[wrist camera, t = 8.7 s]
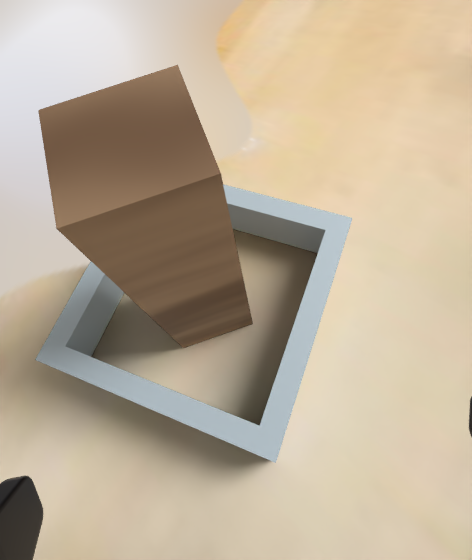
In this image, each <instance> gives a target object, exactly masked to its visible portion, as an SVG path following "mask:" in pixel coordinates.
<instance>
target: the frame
mask: <svg viewBox="0 0 472 560" xmlns="http://www.w3.org/2000/svg"><path fill="white" fill-rule="evenodd" d="M223 187H224V191H225V196H226V201H227V205H228V210H229V215H230V219H231V224H232V229H235V230H239V231H242V232H246V233H249V234H253V235H256V236H260V237H263V238H267V239H270V240H273V241H277V242H280V243H284V244H287V245H291V246H294V247H298V248H301V249H305V250H308V251H312V252H315V253H318V254H317V257H316V260H315V263H314V266H313V269H312V272H311V275H310V278H309V281H308V284H307V287H306V290H305V293H304V296H303V299H302V302H301V304H300V307H299V310H298V313H297V316H296V319H295V322H294V325H293V328H292V331H291V334H290V337H289V340H288V343H287V346H286V349H285V352H284V355H283V358H282V361H281V364H280V367H279V370H278V373H277V375H276V378H275V381H274V384H273V387H272V390H271V393H270V396H269V399H268V402H267V405H266V408H265V411H264V414H263V417H262V420H261V423H260V426H259V425H256V424H254V423H251V422H249V421H247V420H244V419H242V418H239V417H237V416H234V415H232V414H229V413H227V412H225V411H222V410H220V409H217V408H215V407H212V406H210V405H207V404H205V403H203V402H200V401H198V400H195V399H193V398H190V397H188V396H185V395H183V394H181V393H178V392H176V391H173V390H171V389H168V388H166V387H163V386H161V385H159V384H156V383H154V382H151V381H149V380H146V379H144V378H141V377H139V376H137V375H134V374H132V373H129V372H127V371H124V370H122V369H119V368H117V367H115V366H112V365H110V364H107V363H105V362H102V361H100V360H97V359H95V358H93V357H91V356H92V354H93V352H94V350H95V348H96V347H97V345H98V343H99V341H100V339H101V337H102V335H103V333H104V331H105V329H106V327H107V325H108V323H109V321H110V319H111V317H112V316H113V314H114V312H115V310H116V308H117V306H118V304H119V302H120V300H121V298H122V296H123V294H124V292H123V291H122V290H121V289H120V288H119V287H118V286H117V285H116V284H115V283H114V282H113V281H112V280H111V279H110V278H108V277H107V276H106V275H105V274H104V273H103V272H102V271H101V270H100V269H99V268H98V267H97V266H96V265H95V264H94V263H93V262H92V261H91V262H90V264H89V265H88V267H87V269H86V271H85V273H84V274H83V276H82V278H81V280H80V281H79V283H78V285H77V287H76V288H75V290H74V292H73V294H72V296H71V297H70V299H69V301H68V303H67V304H66V306H65V308H64V310H63V311H62V313H61V315H60V317H59V318H58V320H57V322H56V324H55V326H54V327H53V329H52V331H51V333H50V334H49V336H48V338H47V340H46V341H45V343H44V345H43V347H42V348H41V350H40V352H39V354H38V356H37V357H36V359H35V360H37V361H39V362H41V363H44V364H46V365H48V366H51V367H53V368H55V369H58V370H60V371H62V372H65V373H67V374H69V375H72V376H74V377H76V378H79V379H81V380H83V381H86V382H88V383H90V384H93V385H95V386H97V387H100V388H102V389H104V390H107V391H109V392H111V393H114V394H116V395H118V396H121V397H123V398H125V399H128V400H130V401H132V402H135V403H137V404H139V405H142V406H144V407H146V408H149V409H151V410H153V411H156V412H158V413H160V414H163V415H165V416H167V417H170V418H172V419H174V420H177V421H179V422H181V423H184V424H186V425H188V426H191V427H193V428H195V429H198V430H200V431H202V432H205V433H207V434H209V435H212V436H214V437H216V438H219V439H221V440H223V441H226V442H228V443H230V444H233V445H235V446H237V447H240V448H242V449H244V450H247V451H249V452H251V453H254V454H256V455H258V456H261V457H263V458H265V459H268V460H270V461H272V462H275V463H276V460H277V457H278V454H279V450H280V447H281V444H282V441H283V438H284V435H285V431H286V428H287V425H288V422H289V419H290V415H291V412H292V409H293V406H294V403H295V400H296V396H297V393H298V390H299V387H300V384H301V380H302V377H303V374H304V371H305V368H306V364H307V361H308V358H309V355H310V352H311V349H312V345H313V342H314V339H315V336H316V333H317V329H318V326H319V323H320V320H321V317H322V313H323V310H324V307H325V304H326V301H327V298H328V294H329V291H330V288H331V285H332V282H333V278H334V275H335V272H336V269H337V266H338V262H339V259H340V256H341V253H342V250H343V247H344V243H345V240H346V237H347V234H348V231H349V227H350V224H351V221H352V218H350V217H347V216H343V215H339V214H335V213H331V212H327V211H323V210H320V209H316V208H312V207H308V206H304V205H300V204H296V203H293V202H289V201H285V200H281V199H277V198H273V197H270V196H266V195H262V194H258V193H254V192H250V191H246V190H243V189H239V188H235V187H231V186H227V185H223Z"/></svg>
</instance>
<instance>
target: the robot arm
mask: <svg viewBox="0 0 472 560" xmlns="http://www.w3.org/2000/svg"><path fill="white" fill-rule="evenodd" d="M469 431H470V434H471V436H472V397H471V399H470V414H469ZM42 520H43V507H42V504H41V501H40V499H39V496H38V494H37V491H36V488H35V486H34V483H33V481H32V479H31V478H30V477H29V476H21V477H15V478H10V479H7V480H5V481H3V482H2V483H1V484H0V560H33V556H34V552H35V548H36V544H37V541H38V537H39V533H40V529H41V525H42Z"/></svg>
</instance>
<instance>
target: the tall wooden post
mask: <svg viewBox="0 0 472 560" xmlns="http://www.w3.org/2000/svg"><path fill="white" fill-rule="evenodd" d="M39 117H40V123H41V130H42V137H43V143H44V150H45V156H46V163H47V169H48V175H49V182H50V188H51V195H52V202H53V208H54V214H55V221H56V228H57V229H58V230H59V231H60V232H61V233H62V234H63V235H64V236H65V237H66V238H67V239H68V240H69V241H70V242H71V243H73V245H75V246H76V247H77V248H78V249H79V250H80V251H81V252H82V253H83V254H84V255H85V256H86V257H87V258H88V259H89V260H90V261H92V262H93V263H94V264H95V265H96V266H97V267H98V268H99V269H100V270H101V271H102V272H103V273H104V274H105V275H106V276H107V277H108V278H110V279H111V280H112V281H113V282H114V283H115V284H116V285H117V286H118V287H119V288H120V289H121V290H122V291H123V292H124V293H125V294H127V295H128V296H129V297H130V298H131V299H132V300H133V301H134V302H135V303H136V304H137V305H138V306H139V307H140V308H141V309H142V310H144V311H145V312H146V313H147V314H148V315H149V316H150V317H151V318H152V319H153V320H154V321H155V322H156V323H157V324H158V325H159V326H161V327H162V328H163V329H164V330H165V331H166V332H167V333H168V334H169V335H170V336H171V337H172V338H173V339H174V340H175V341H176V342H177V343H179V344H180V345H181V346H182V347H183V348H185V347H188V346H191V345H194V344H196V343H199V342H202V341H205V340H208V339H211V338H213V337H216V336H219V335H222V334H225V333H228V332H230V331H233V330H236V329H239V328H242V327H245V326H247V325H250V324H253V323H252V318H251V313H250V309H249V304H248V299H247V294H246V290H245V285H244V280H243V276H242V271H241V266H240V262H239V257H238V252H237V248H236V243H235V238H234V234H233V229H232V224H231V219H230V215H229V210H228V205H227V201H226V196H225V191H224V187H223V182H222V177H221V173H220V170H219V168H218V165H217V163H216V160H215V158H214V156H213V153H212V150H211V148H210V145H209V143H208V140H207V138H206V136H205V133H204V130H203V128H202V125H201V123H200V120H199V118H198V115H197V113H196V110H195V108H194V105H193V103H192V100H191V97H190V95H189V92H188V90H187V88H186V85H185V82H184V80H183V77H182V75H181V72H180V70H179V67H178V65H176V66H173V67H170V68H167V69H164V70H161V71H157V72H155V73H151V74H148V75H145V76H142V77H139V78H136V79H133V80H130V81H127V82H123V83H120V84H117V85H114V86H111V87H108V88H105V89H102V90H99V91H96V92H93V93H90V94H86V95H83V96H81V97H77V98H74V99H71V100H68V101H65V102H62V103H59V104H56V105H53V106H50V107H46V108H44V109H40V110H39Z"/></svg>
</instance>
